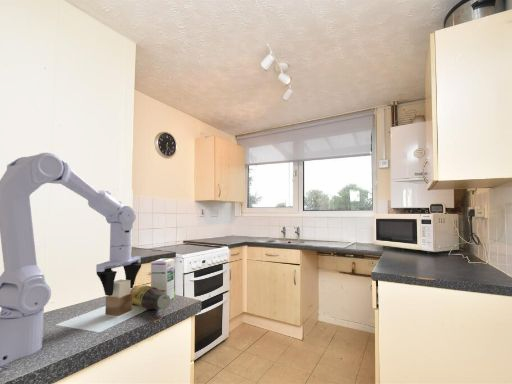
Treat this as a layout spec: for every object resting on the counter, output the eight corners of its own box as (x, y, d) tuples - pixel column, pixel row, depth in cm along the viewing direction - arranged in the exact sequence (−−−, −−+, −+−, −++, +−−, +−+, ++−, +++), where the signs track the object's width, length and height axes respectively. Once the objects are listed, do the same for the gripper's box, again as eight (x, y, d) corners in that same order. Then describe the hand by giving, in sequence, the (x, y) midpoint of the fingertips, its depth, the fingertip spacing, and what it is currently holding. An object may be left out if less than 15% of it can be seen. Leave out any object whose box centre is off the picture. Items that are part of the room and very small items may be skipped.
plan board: (99, 335, 65) (99, 332, 65) (55, 327, 71) (55, 324, 71) (151, 310, 82) (151, 307, 82) (112, 305, 88) (112, 303, 88)
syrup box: (167, 307, 85) (167, 261, 86) (150, 306, 86) (150, 261, 87) (175, 301, 90) (175, 258, 92) (159, 300, 91) (159, 258, 93)
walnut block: (118, 316, 76) (118, 298, 76) (105, 314, 77) (105, 296, 78) (132, 310, 80) (132, 293, 81) (119, 308, 82) (119, 292, 83)
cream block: (119, 297, 77) (119, 283, 77) (109, 296, 78) (109, 282, 78) (130, 293, 80) (130, 280, 81) (120, 292, 82) (120, 279, 82)
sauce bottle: (140, 280, 91) (168, 283, 77) (150, 294, 92) (179, 299, 79) (123, 294, 86) (150, 300, 73) (134, 309, 88) (162, 317, 74)
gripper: (110, 248, 72) (109, 300, 71) (148, 243, 86) (147, 285, 85) (91, 248, 75) (89, 297, 74) (131, 242, 88) (130, 284, 87)
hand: (119, 291), depth 79 cm, fingers open, 7 cm apart
